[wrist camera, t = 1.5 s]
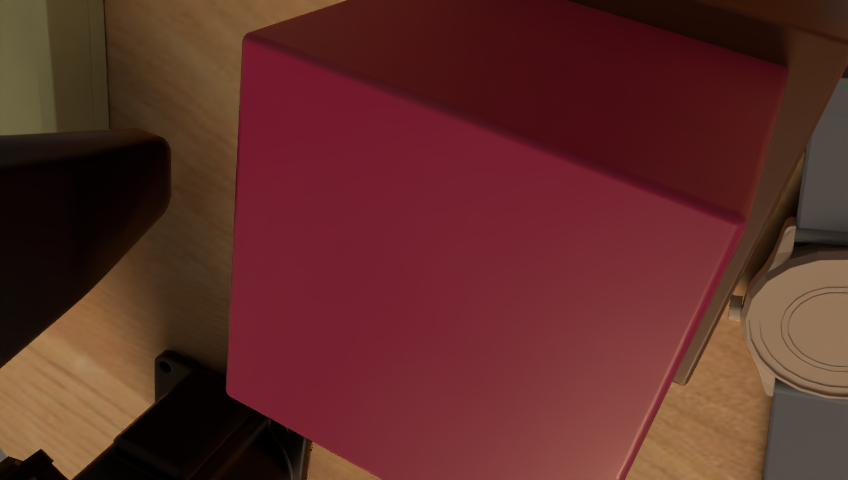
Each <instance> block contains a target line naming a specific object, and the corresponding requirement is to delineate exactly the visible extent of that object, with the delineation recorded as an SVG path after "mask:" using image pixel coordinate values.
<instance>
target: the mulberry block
mask: <svg viewBox="0 0 848 480" xmlns="http://www.w3.org/2000/svg"><path fill="white" fill-rule="evenodd" d="M787 79H788V69H787V68H786V67H784V66H782V65H778V64H775V63H772V62H768V61H765V60H762V59H759V58H755V57H752V56H749V55H746V54H742V53H739V52H736V51H732V50H729V49H726V48H723V47H719V46H716V45H713V44H710V43H706V42H703V41H700V40H696V39H693V38H690V37H687V36H683V35H680V34H677V33H674V32H670V31H667V30H664V29H660V28H657V27H654V26H651V25H647V24H644V23H641V22H638V21H634V20H631V19H628V18H624V17H621V16H618V15H615V14H611V13H608V12H605V11H602V10H598V9H595V8H592V7H588V6H585V5H582V4H579V3H575V2H572V1H569V0H346V1H343V2H340V3H337V4H334V5H331V6H328V7H325V8H322V9H319V10H316V11H313V12H310V13H307V14H304V15H301V16H298V17H295V18H292V19H289V20H286V21H282V22H279V23H276V24H273V25H270V26H267V27H264V28H261V29H258V30H255V31H252V32H249V33H247V34H246V35H245V36H244V39H243V42H242V63H241V84H240V105H239V126H238V147H237V168H236V189H235V209H234V230H233V251H232V272H231V293H230V314H229V335H228V356H227V377H226V392H227V394H228V395H229V396H230V397H232V398H234V399H236V400H238V401H239V402H241V403H243V404H245V405H247V406H249V407H250V408H252V409H254V410H256V411H258V412H260V413H261V414H263V415H265V416H267V417H269V418H271V419H272V420H274V421H276V422H278V423H280V424H282V425H283V426H285V427H287V428H289V429H291V430H293V431H294V432H296V433H298V434H300V435H302V436H304V437H305V438H307V439H309V440H311V441H313V442H315V443H316V444H318V445H320V446H322V447H324V448H326V449H327V450H329V451H331V452H333V453H335V454H337V455H338V456H340V457H342V458H344V459H346V460H348V461H349V462H351V463H353V464H355V465H357V466H359V467H360V468H362V469H364V470H366V471H368V472H369V473H371V474H373V475H375V476H377V477H379V478H380V479H382V480H625V478H626V476H627V474H628V472H629V470H630V468H631V466H632V464H633V461H634V459H635V457H636V455H637V453H638V451H639V449H640V447H641V445H642V443H643V441H644V439H645V437H646V435H647V432H648V430H649V428H650V426H651V424H652V422H653V420H654V418H655V416H656V414H657V412H658V410H659V408H660V406H661V403H662V401H663V399H664V397H665V395H666V393H667V391H668V389H669V387H670V385H671V383H672V381H673V379H674V377H675V374H676V372H677V370H678V368H679V366H680V364H681V362H682V360H683V358H684V356H685V354H686V352H687V350H688V348H689V345H690V343H691V341H692V339H693V337H694V335H695V333H696V331H697V329H698V327H699V325H700V323H701V321H702V319H703V316H704V314H705V312H706V310H707V308H708V306H709V304H710V302H711V300H712V298H713V296H714V294H715V292H716V289H717V287H718V285H719V283H720V281H721V279H722V277H723V275H724V273H725V271H726V269H727V267H728V265H729V263H730V260H731V258H732V256H733V254H734V252H735V250H736V248H737V246H738V244H739V242H740V240H741V238H742V236H743V234H744V231H745V229H746V227H747V225H748V221H749V218H750V214H751V210H752V207H753V203H754V199H755V196H756V192H757V189H758V185H759V181H760V178H761V174H762V170H763V167H764V163H765V159H766V156H767V152H768V148H769V145H770V141H771V137H772V134H773V130H774V126H775V123H776V119H777V116H778V112H779V108H780V105H781V101H782V97H783V94H784V90H785V86H786V83H787Z"/></svg>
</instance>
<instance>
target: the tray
mask: <svg viewBox="0 0 848 480" xmlns="http://www.w3.org/2000/svg"><path fill="white" fill-rule="evenodd" d="M95 130H109V110H108V89H107V68H106V48H105V27H104V6H103V0H0V135H18V134H37V133H56V132H75V131H95Z"/></svg>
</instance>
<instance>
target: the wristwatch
mask: <svg viewBox="0 0 848 480" xmlns="http://www.w3.org/2000/svg"><path fill="white" fill-rule="evenodd" d="M794 241H795V242H806V243H814V244H810V245H806V246H801V247H797V248H793V246H794ZM742 298H743V296H735V295H732V296H731V298H730V304H729V306H730V309H729V313H728V314H729V316H728V320H734V321H740V316H741V324H742V334H743V338H744V340H745V342H746V344H747V346H748V348H749V351H750V354H751V356H752V358H753V360H754V362H755V364H756V366H757V369H758V372H759V375H760V377H761V380H762V384H763V388H764V392H765V393H766V394H767V395H768V396H772V405H771V414H770V422H769V431H768V440H767V448H766V457H765V465H764V474H763V480H848V64H847V66H846V68H845V70H844V72H843V74H842V76H841V78H840V80H839V82H838V84H837V86H836V88H835V90H834V92H833V94H832V96H831V98H830V100H829V102H828V104H827V106H826V108H825V110H824V112H823V114H822V116H821V118H820V120H819V122H818V124H817V126H816V128H815V130H814V132H813V134H812V136H811V138H810V140H809V142H808V144H807V146H806V151H805V159H804V166H803V173H802V181H801V188H800V196H799V203H798V210H797V218H796V217H790V218H788V219H787V220H786V221H785V223H784V225H783V228H782V230H781V233H780V235H779V238H778V240H777V243H776V245H775V248H774V250H773V251H772V253H771V255H770V257H769V258H768V260H767V261H766V263H765V265H764V266H763V267H762V268H761V270H760V271H759V272H758V273H757V274H756V276H755V277H754V278H753V279H752V280H751V282H750V283H749V285H748V288H747V291H746V294H745V297H744V300H743V305H742Z"/></svg>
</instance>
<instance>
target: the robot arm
mask: <svg viewBox="0 0 848 480" xmlns="http://www.w3.org/2000/svg"><path fill="white" fill-rule="evenodd" d="M170 199H171V148H170V145H169V143H168V142H167V141H166V139H164V138H163V137H160V136H158V135H155V134H153V133H150V132H148V131H145V130H143V129H137V128H133V129H114V130H95V131H75V132H56V133H37V134H18V135H0V368H1V367H3V366H4V365H5V364H6V363H7V362H8V361H10V360H11V359H12V358H13V357H14V356H15V355H17V354H18V353H19V352H20V351H21V350H22V349H24V348H25V347H26V346H27V345H28V344H29V343H31V342H32V341H33V340H34V339H35V338H36V337H38V336H39V335H40V334H41V333H42V332H43V331H45V330H46V329H47V328H48V327H49V326H50V325H52V324H53V323H54V322H55V321H56V320H57V319H59V318H60V317H61V316H62V315H63V314H64V313H66V312H67V311H68V310H69V309H70V308H71V307H73V306H74V305H75V304H76V303H77V302H78V301H79V300H81V299H82V298H83V297H84V296H85V295H86V294H87V293H88V292H89V291H90V290H91V289H92V288H93V287H94V286H95V285H96V284H97V283H98V282H99V281H100V280H101V279H102V278H103V277H104V276H105V275H106V274H107V273H108V272H109V271H110V270H111V269H112V268H113V267H114V266H115V265H116V264H117V263H118V262H119V261H120V259H121V258H122V257H123V256H124V255H125V254H126V253H127V252H128V251H129V250H130V249H131V248H132V247H133V246H134V245H135V244H136V243H137V242H138V241H139V239H140V238H141V237H142V236H143V235H144V234H145V233H146V232H147V231H148V230H149V229H150V228H151V227H152V226H153V225H154V224H155V223H156V222H157V221H158V219H159V218H160V217H161V216H162V215H163V214H164V213H165V211H166V209H167V208H168V205H169V203H170ZM310 446H311V440H309V439H307V438H305V437H304V436H302V435H300V434H298V433H296V432H294V431H293V430H291V429H289V428H287V427H285V426H283V425H282V424H280V423H278V422H276V421H274V420H272V419H271V418H269V417H267V416H265V415H263V414H261V413H260V412H258V411H256V410H254V409H252V408H250V407H249V406H247V405H245V404H243V403H241V402H239V401H238V400H236V399H234V398H232V397H230V396H229V395H228V394H227V392H226V376H224V375H222V374H220V373H218V372H216V371H214V370H211V369H209V368H207V367H205V366H203V365H201V364H199V363H197V362H195V361H193V360H191V359H189V358H187V357H185V356H182V355H180V354H178V353H176V352H174V351H172V350H165V351H163V352H162V353H161V354H160V355H158V356H157V357H156V358H155V403H154V404H153V405H152V406H151V407H149V408H148V409H147V410H146V411H145V412H144V413H143V414H142V415H140V416H139V417H138V418H137V419H136V420H135V421H134V422H132V423H131V424H130V425H129V426H128V427H127V428H126V429H124V430H123V431H122V432H121V433H120V434H119V435H118V436H117V437H116V438H115V439H114V443H112V444H111V445H110V446H109V447H108V448H107V449H106V450H104V451H103V452H102V453H101V454H100V455H99V456H98V457H97V458H95V459H94V460H93V461H92V462H91V463H90V464H89V465H88V466H86V467H85V468H84V469H83V470H82V471H81V472H80V473H78V474H77V475H76V476H75V477H74V478H73V479H72V480H306V475H307V467H308V460H309V453H310ZM52 462H53V460H52V459H51V458H50V457H49V456H48V455H47V454H46V453H45V452H44V451H43V450H42V449H40V450H39V451H37V452H36V453H34V454H33V455H32V456H30V457H29V458H27V459H26V460H24V461H21V460H18V459H15V458H12V457H9V456H8V457H7V458H6V459H4V460H3V461H2V462H0V480H68V479H67V478H66V477H65V476H64V475H63V474H62V473H61V472H60V471H59V470H58V469H57V468H56V467H55V466H54V465H53V464H52Z"/></svg>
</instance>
